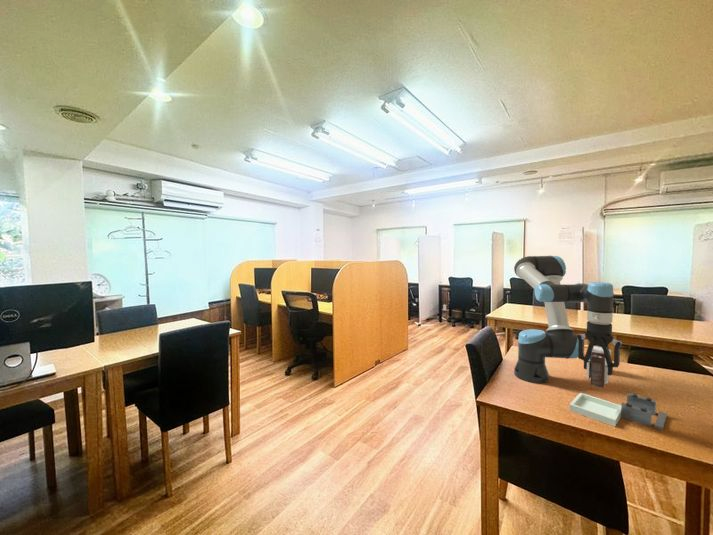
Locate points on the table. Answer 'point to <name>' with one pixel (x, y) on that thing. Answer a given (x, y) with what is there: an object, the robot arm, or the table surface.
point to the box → (597, 369)
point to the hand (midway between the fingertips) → (597, 379)
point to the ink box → (599, 350)
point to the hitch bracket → (642, 411)
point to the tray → (596, 409)
